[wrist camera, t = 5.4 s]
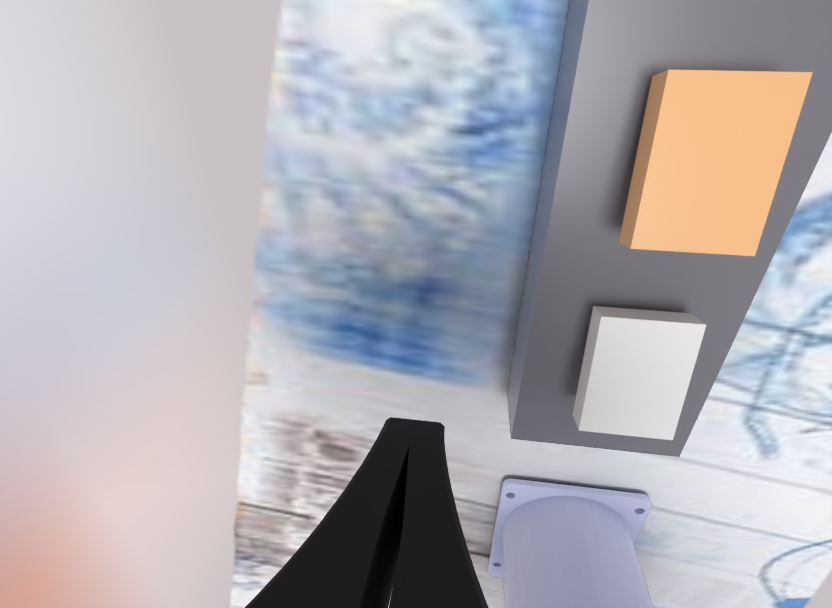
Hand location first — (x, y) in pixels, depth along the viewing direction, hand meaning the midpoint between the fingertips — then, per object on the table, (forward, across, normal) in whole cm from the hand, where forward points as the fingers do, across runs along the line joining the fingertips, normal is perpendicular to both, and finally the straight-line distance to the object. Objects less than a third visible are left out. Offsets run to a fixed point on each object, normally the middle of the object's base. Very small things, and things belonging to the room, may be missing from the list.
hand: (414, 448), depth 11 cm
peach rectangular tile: (+5, -7, -6) cm, 11 cm away
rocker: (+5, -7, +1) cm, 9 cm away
